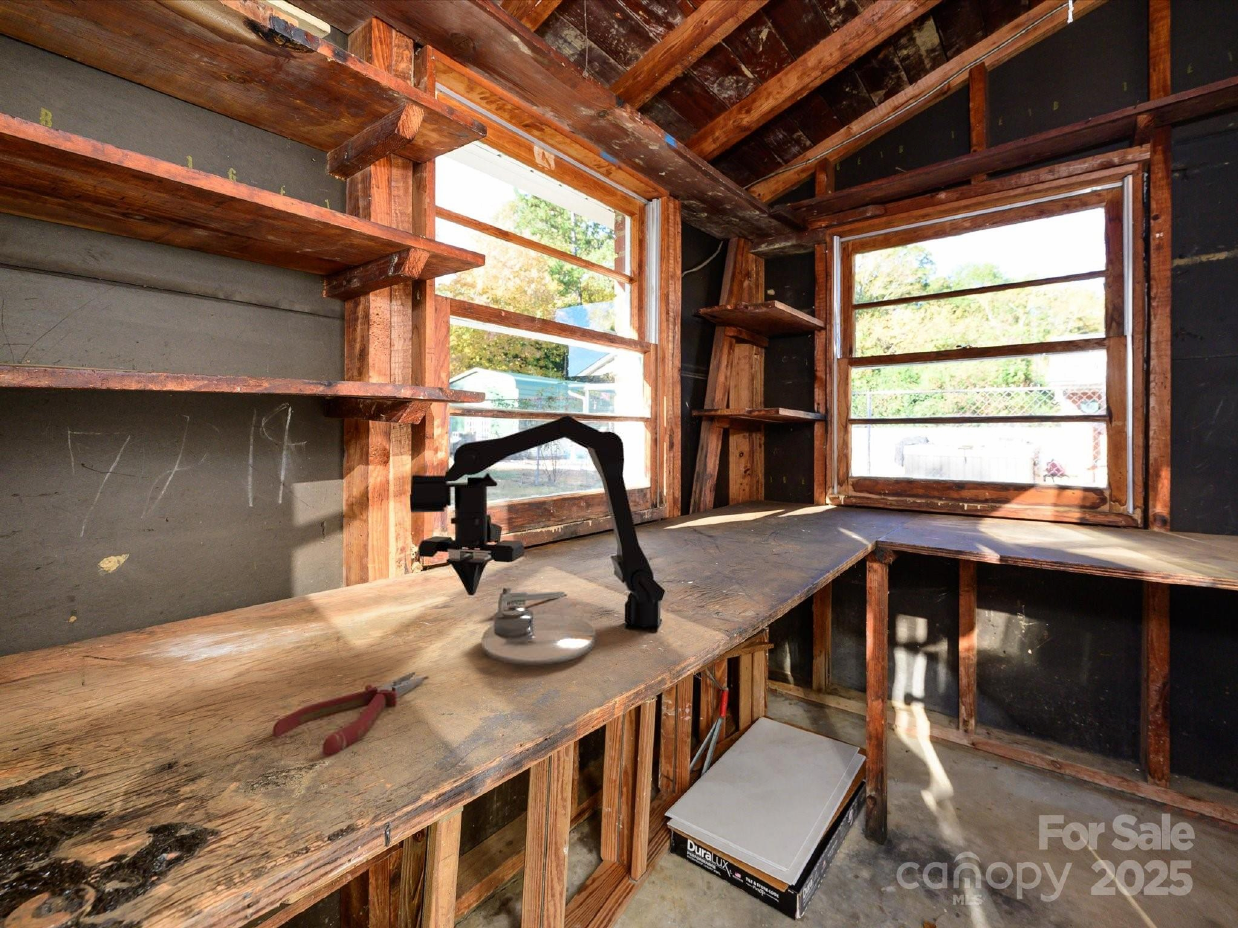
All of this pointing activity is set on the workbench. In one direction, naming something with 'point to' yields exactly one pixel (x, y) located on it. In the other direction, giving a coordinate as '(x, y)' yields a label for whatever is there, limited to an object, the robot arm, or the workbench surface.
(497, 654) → the turntable
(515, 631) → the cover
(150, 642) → the workbench surface
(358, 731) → the pliers
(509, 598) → the caliper
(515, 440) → the robot arm
